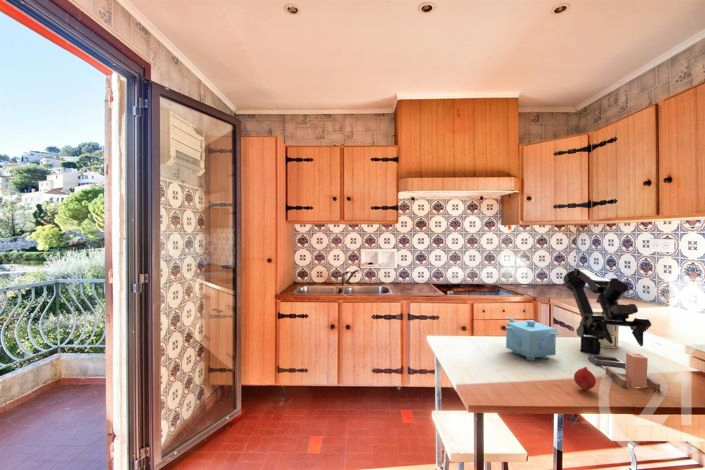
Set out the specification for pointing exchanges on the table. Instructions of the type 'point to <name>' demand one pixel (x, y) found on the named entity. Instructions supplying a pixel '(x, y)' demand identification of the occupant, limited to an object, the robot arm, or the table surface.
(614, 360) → the tray
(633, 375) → the block
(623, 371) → the pad
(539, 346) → the blue lidded box
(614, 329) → the coffee can
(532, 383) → the table surface
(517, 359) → the table surface
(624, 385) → the channel
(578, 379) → the onion
